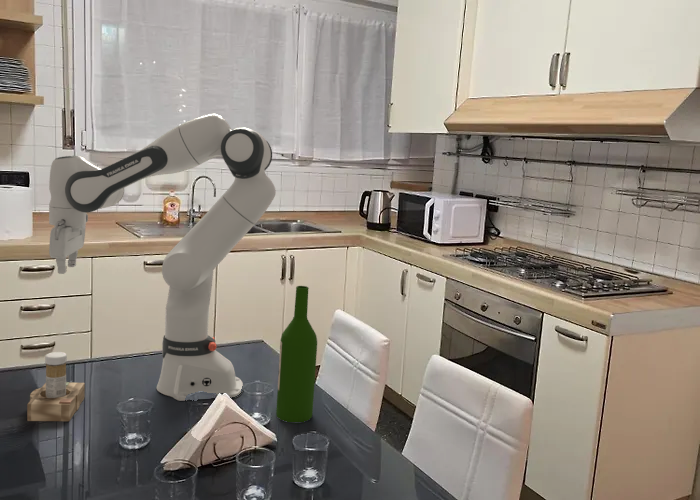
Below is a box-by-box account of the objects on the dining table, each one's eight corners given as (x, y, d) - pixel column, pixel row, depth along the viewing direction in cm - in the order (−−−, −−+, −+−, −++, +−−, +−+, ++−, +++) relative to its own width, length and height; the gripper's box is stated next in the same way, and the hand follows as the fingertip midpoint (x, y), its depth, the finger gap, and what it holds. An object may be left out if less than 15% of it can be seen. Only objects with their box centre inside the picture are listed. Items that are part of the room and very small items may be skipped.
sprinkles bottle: (63, 403, 158) (63, 350, 156) (68, 410, 154) (69, 355, 152) (42, 407, 155) (42, 352, 153) (48, 414, 151) (48, 358, 150)
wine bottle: (277, 407, 165) (285, 282, 160) (313, 410, 165) (321, 284, 161) (274, 422, 156) (281, 289, 152) (311, 424, 156) (320, 292, 152)
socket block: (85, 398, 162) (85, 381, 162) (70, 421, 149) (70, 403, 148) (40, 397, 161) (41, 380, 160) (21, 420, 147) (21, 402, 146)
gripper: (69, 223, 161) (69, 278, 163) (89, 214, 181) (88, 263, 183) (42, 221, 160) (42, 277, 162) (65, 213, 180) (65, 262, 182)
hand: (67, 269), depth 172 cm, fingers open, 8 cm apart
